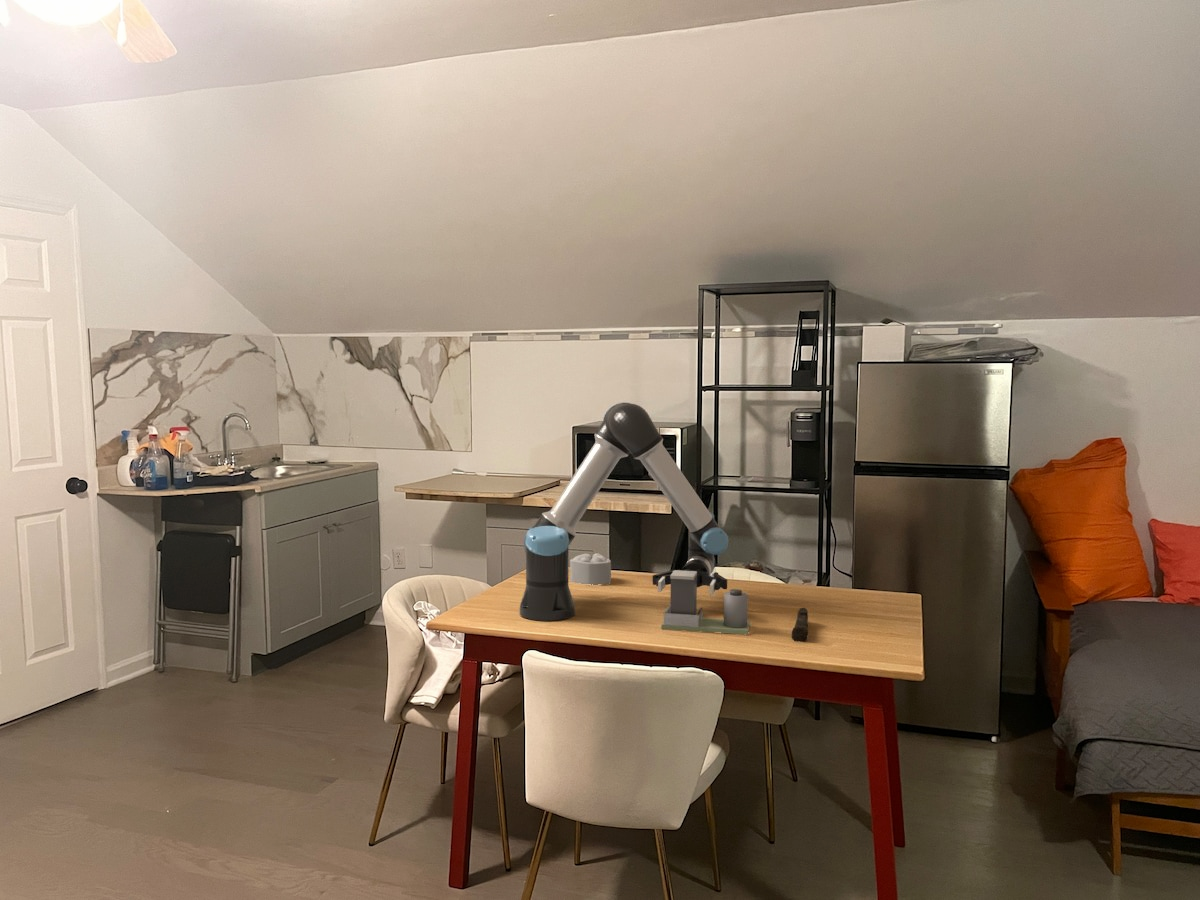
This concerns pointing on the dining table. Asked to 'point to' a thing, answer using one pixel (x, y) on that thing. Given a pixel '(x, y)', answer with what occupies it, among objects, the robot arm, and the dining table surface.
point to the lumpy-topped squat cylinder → (590, 569)
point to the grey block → (683, 592)
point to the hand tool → (801, 626)
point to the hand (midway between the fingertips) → (685, 588)
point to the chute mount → (683, 618)
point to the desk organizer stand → (725, 616)
